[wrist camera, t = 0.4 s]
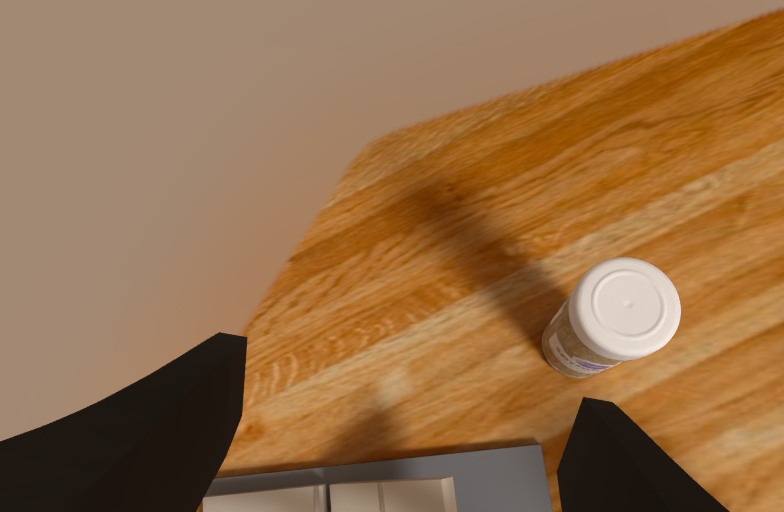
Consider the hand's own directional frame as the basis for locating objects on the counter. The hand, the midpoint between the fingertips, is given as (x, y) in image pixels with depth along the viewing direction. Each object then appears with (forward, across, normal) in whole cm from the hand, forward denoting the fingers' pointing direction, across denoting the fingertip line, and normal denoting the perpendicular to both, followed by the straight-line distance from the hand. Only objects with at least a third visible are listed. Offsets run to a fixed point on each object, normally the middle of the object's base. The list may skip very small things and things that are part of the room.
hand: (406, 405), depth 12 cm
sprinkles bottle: (+24, -12, +10) cm, 28 cm away
